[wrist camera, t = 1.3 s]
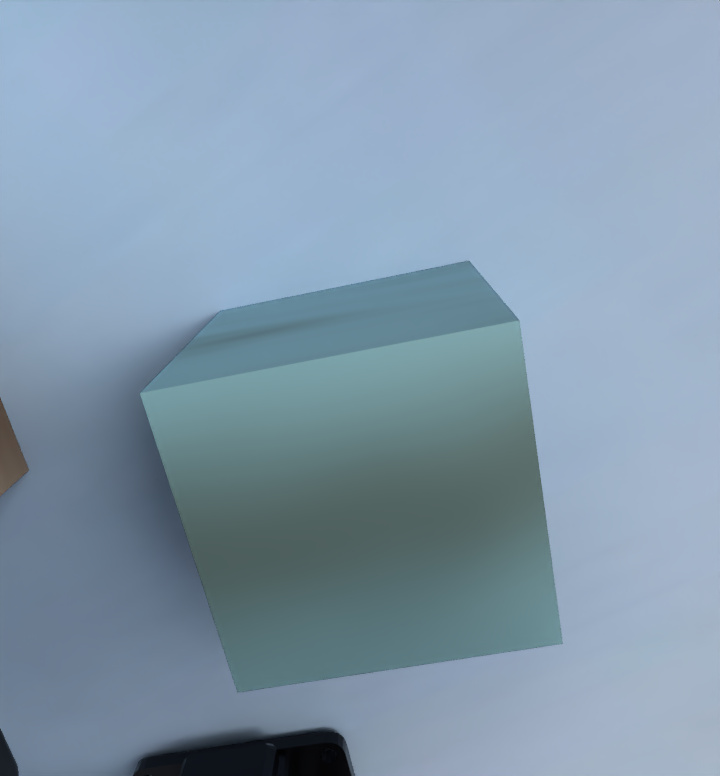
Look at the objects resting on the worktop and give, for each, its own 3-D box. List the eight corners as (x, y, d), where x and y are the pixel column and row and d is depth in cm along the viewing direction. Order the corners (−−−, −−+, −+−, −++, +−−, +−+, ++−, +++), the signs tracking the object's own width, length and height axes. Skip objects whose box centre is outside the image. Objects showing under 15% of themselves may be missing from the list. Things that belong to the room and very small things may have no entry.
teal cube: (503, 487, 18) (562, 643, 12) (280, 525, 18) (237, 692, 13) (468, 260, 16) (519, 320, 10) (221, 310, 17) (139, 393, 11)
